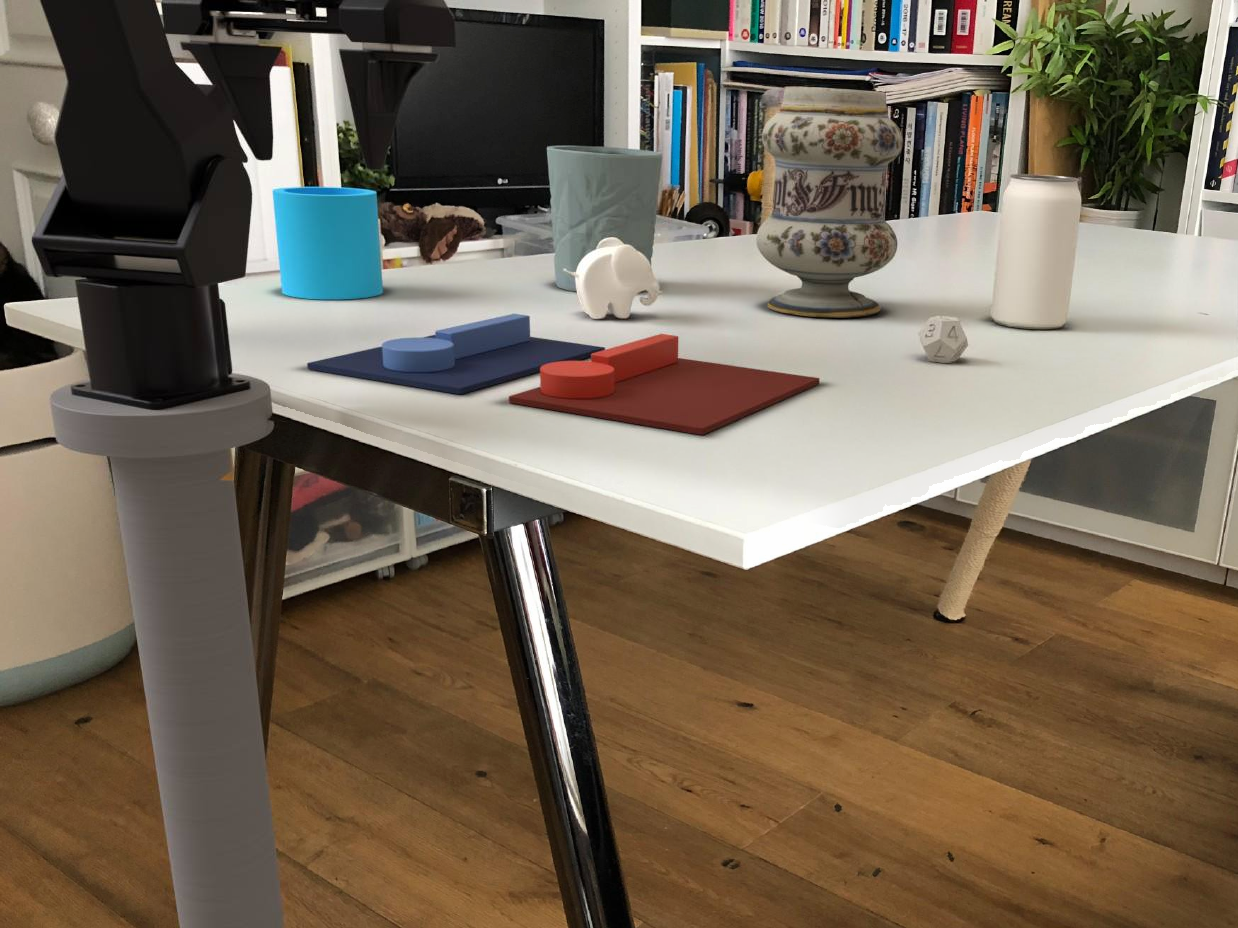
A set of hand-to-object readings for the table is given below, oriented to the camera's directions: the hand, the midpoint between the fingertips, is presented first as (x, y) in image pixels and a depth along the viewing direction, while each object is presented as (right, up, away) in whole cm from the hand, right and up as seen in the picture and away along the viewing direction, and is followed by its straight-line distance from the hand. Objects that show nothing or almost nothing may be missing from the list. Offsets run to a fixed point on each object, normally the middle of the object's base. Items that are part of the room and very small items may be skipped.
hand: (318, 165), depth 84 cm
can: (+51, -5, +28) cm, 58 cm away
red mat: (+23, -15, -2) cm, 27 cm away
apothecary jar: (+33, -3, +30) cm, 45 cm away
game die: (+41, -11, +12) cm, 44 cm away
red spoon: (+19, -14, -1) cm, 24 cm away
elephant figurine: (+16, -5, +22) cm, 28 cm away
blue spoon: (+8, -12, +4) cm, 15 cm away
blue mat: (+8, -12, +4) cm, 15 cm away
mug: (-9, -1, +29) cm, 30 cm away
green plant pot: (+13, +1, +37) cm, 39 cm away
